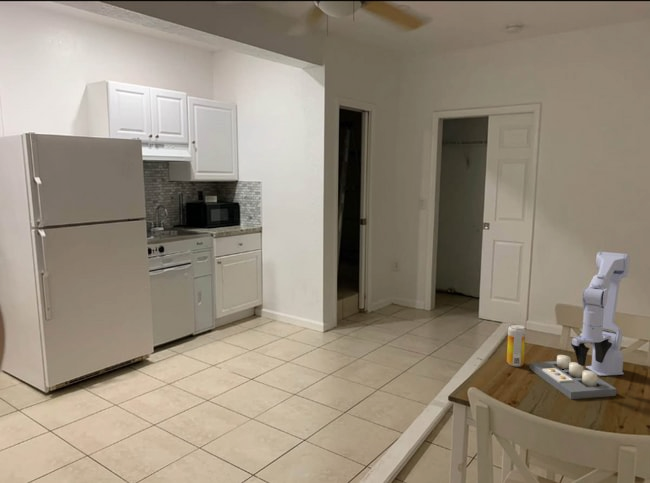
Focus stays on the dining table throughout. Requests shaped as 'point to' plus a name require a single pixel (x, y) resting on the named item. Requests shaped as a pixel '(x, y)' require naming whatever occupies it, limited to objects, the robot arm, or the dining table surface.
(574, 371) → the button
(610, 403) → the dining table surface
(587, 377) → the button
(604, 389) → the board
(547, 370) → the tile
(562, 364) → the button
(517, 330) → the beer can
